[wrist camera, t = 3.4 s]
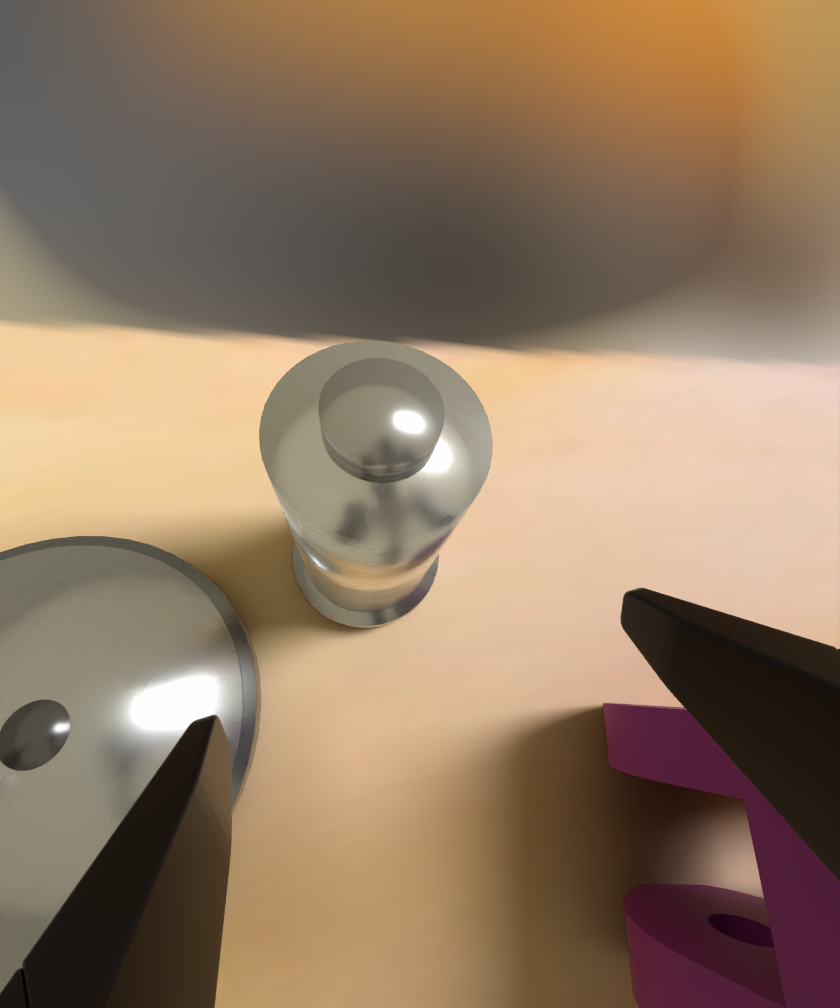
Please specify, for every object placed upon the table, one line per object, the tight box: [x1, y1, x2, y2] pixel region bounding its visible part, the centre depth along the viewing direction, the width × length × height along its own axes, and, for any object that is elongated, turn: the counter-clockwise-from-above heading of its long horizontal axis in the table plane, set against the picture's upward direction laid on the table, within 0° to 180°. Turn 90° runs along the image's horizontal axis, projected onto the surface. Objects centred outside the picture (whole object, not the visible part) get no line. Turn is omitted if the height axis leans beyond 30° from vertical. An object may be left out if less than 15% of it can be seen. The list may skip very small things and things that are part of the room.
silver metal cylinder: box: [259, 341, 492, 628], centre depth 16 cm, size 7×7×13 cm
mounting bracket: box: [603, 703, 840, 1008], centre depth 18 cm, size 9×8×18 cm
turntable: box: [0, 536, 261, 992], centre depth 17 cm, size 16×16×1 cm
